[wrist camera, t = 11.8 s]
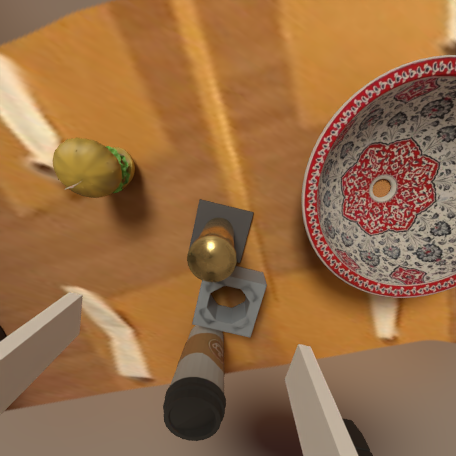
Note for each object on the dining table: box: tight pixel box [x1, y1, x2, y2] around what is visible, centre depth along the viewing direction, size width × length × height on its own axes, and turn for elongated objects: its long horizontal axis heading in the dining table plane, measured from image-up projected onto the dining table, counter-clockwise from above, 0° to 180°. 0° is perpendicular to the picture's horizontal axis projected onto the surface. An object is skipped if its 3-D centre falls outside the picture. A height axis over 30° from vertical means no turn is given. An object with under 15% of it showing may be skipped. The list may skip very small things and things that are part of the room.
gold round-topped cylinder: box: [187, 217, 236, 282], centre depth 31 cm, size 6×6×12 cm
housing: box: [192, 266, 267, 337], centre depth 37 cm, size 10×10×4 cm
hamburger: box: [53, 138, 135, 198], centre depth 29 cm, size 8×7×12 cm
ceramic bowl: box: [302, 55, 456, 298], centre depth 31 cm, size 29×29×8 cm
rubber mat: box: [189, 199, 253, 263], centre depth 37 cm, size 9×9×1 cm
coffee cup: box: [163, 325, 226, 441], centre depth 35 cm, size 8×8×15 cm
